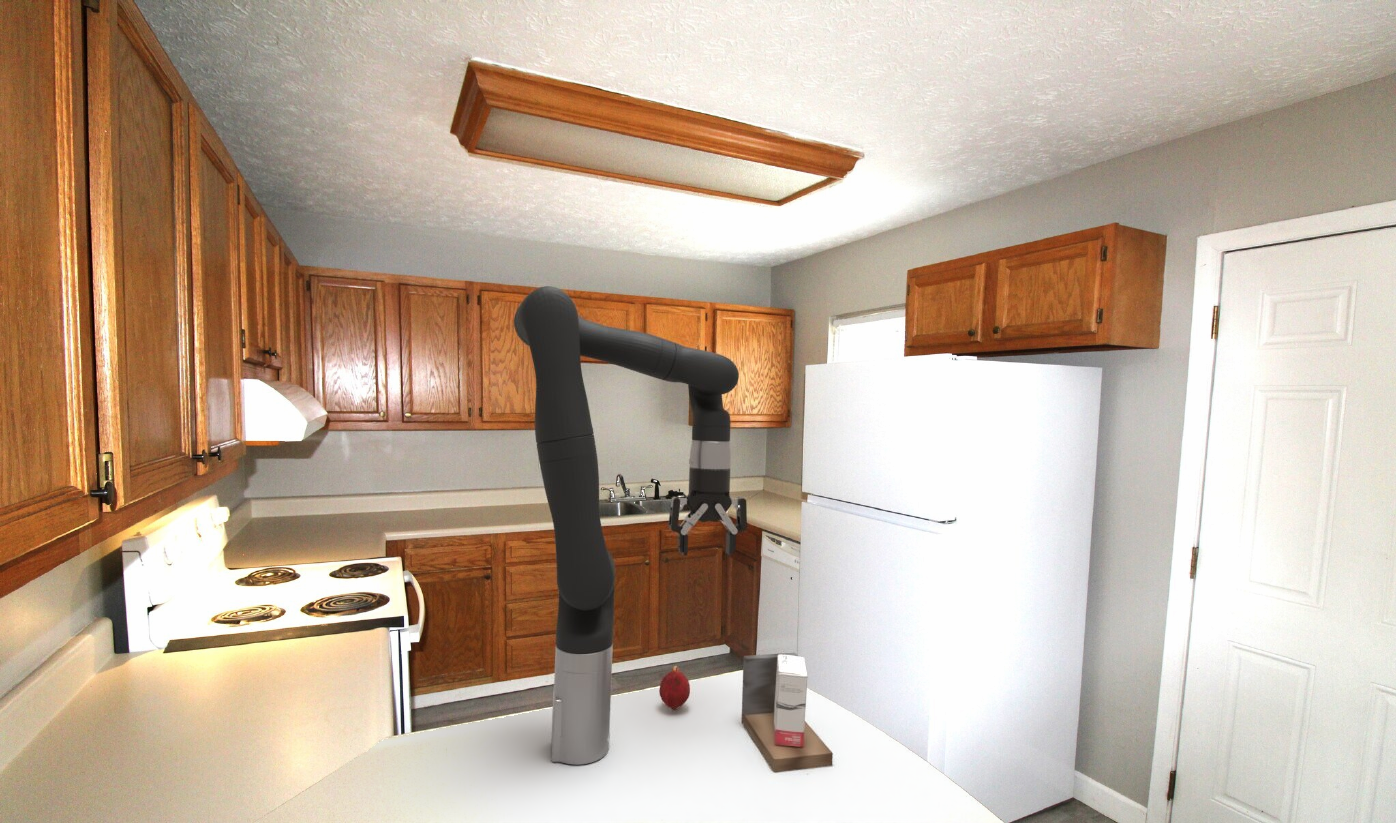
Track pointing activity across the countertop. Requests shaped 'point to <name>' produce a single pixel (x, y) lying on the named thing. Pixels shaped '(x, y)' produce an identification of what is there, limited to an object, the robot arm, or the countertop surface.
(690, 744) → the countertop surface
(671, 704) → the onion
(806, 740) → the shelf board
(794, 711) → the ink box
